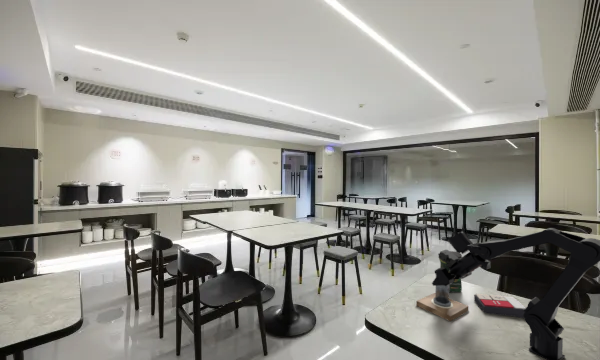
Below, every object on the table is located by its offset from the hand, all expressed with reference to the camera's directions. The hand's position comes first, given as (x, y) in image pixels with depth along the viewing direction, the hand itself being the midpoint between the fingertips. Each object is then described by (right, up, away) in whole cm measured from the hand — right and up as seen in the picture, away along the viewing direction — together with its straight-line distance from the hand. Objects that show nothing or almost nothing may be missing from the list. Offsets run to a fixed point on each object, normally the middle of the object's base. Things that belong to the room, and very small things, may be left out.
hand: (438, 281), depth 107 cm
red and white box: (+25, -11, -1) cm, 27 cm away
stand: (+1, -11, -1) cm, 11 cm away
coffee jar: (+15, -11, +17) cm, 24 cm away
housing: (+1, -8, -1) cm, 8 cm away
